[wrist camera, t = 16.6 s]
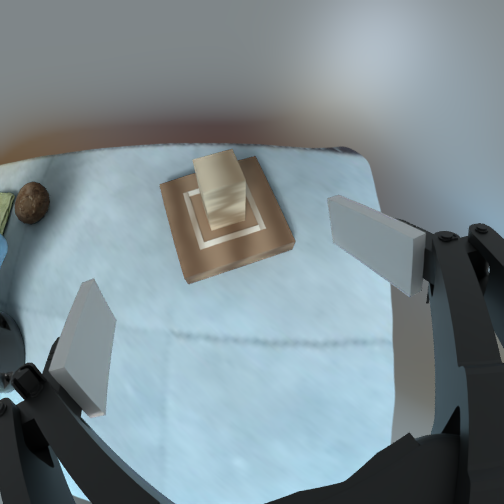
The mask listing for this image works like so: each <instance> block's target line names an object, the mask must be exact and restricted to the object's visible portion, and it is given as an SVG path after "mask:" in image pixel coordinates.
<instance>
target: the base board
mask: <svg viewBox="0 0 504 504" xmlns="http://www.w3.org/2000/svg"><path fill="white" fill-rule="evenodd" d="M238 163H239V165H240V168H241V170H242V172H243V175H244V177H245V179H246V200H245V221H241V222H238V223H235V224H232V225H229V226H225V227H222V228H219V229H216V230H213V231H211V228H210V225H209V222H208V219H207V216H206V212H205V209H204V206H203V203H202V199H201V195H200V191H199V187H198V182H197V178H196V173H194V174H190V175H187V176H184V177H181V178H178V179H175V180H172V181H169V182H166V183H163V184H160V189H161V193H162V197H163V201H164V205H165V209H166V213H167V217H168V221H169V225H170V229H171V233H172V236H173V240H174V244H175V247H176V251H177V254H178V258H179V261H180V265H181V268H182V272H183V275H184V279H185V280H186V281H187V283H188V284H191V283H194V282H197V281H200V280H203V279H206V278H209V277H212V276H215V275H218V274H221V273H224V272H227V271H230V270H233V269H236V268H239V267H242V266H245V265H248V264H251V263H254V262H257V261H259V260H262V259H265V258H268V257H271V256H274V255H277V254H280V253H283V252H286V251H289V250H292V249H293V246H294V244H295V239H294V237H293V235H292V233H291V231H290V228H289V226H288V224H287V222H286V220H285V217H284V215H283V213H282V211H281V209H280V207H279V204H278V202H277V200H276V198H275V196H274V194H273V192H272V189H271V187H270V185H269V183H268V181H267V179H266V177H265V175H264V173H263V171H262V169H261V167H260V164H259V162H258V160H257V158H256V156H254V157H250V158H246V159H242V160H238Z"/></svg>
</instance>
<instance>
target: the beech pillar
mask: <svg viewBox="0 0 504 504" xmlns="http://www.w3.org/2000/svg"><path fill="white" fill-rule="evenodd" d="M193 165H194V169H195V173H196V178H197V182H198V187H199V191H200V195H201V199H202V203H203V206H204V209H205V212H206V216H207V219H208V222H209V225H210V228H211V231H213V230H216V229H219V228H222V227H225V226H229V225H232V224H235V223H238V222H241V221H245V200H246V179H245V177H244V175H243V172H242V170H241V168H240V165H239V163H238V161H237V158H236V156H235V154H234V152H233V149H230V150H226V151H222V152H219V153H215V154H211V155H208V156H204V157H201V158H197V159H194V160H193Z"/></svg>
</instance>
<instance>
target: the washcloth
mask: <svg viewBox="0 0 504 504" xmlns="http://www.w3.org/2000/svg"><path fill="white" fill-rule="evenodd" d="M13 199H14V195H13V194H12V193H0V234H1V235H2V236H3V231H4V228H5V225H6V223H7V219H8V216H9V213H10V209H11V205H12V202H13Z"/></svg>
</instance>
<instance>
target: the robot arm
mask: <svg viewBox="0 0 504 504" xmlns="http://www.w3.org/2000/svg"><path fill="white" fill-rule="evenodd" d="M327 201H328V208H329V215H330V222H331V230H332V238H333V243H334V244H335V245H337V246H338V247H340V248H341V249H343V250H344V251H346V252H347V253H349V254H350V255H352V256H353V257H354V258H356V259H357V260H359V261H360V262H362V263H363V264H364V265H366V266H367V267H369V268H370V269H371V270H373V271H374V272H376V273H377V274H378V275H380V276H381V277H383V278H384V279H385V280H387V281H388V282H390V283H391V284H392V285H394V286H395V287H396V288H398V289H399V290H401V291H402V292H403V293H405V294H406V295H407V296H409V297H411V296H413V295H415V294H416V293H418V292H420V291H422V284H423V278H424V279H425V280H427V281H428V282H429V286H428V294H427V302H426V303H429V300H430V307H431V316H432V326H433V339H434V354H435V387H436V389H435V419H434V424H433V428H432V431H431V435H426V436H422V437H419V438H416V439H414V438H413V436H412V435H411V434H410V433H408V434H406V435H405V436H403V437H402V438H401V439H399V440H397V441H396V442H395V443H393V444H391V445H390V446H388V447H386V448H385V449H383V450H381V451H380V452H378V453H377V454H376V455H374V456H373V457H372V458H371V459H370V460H369V461H368V462H367V463H366V464H365V465H364V466H362V467H361V468H360V469H359V470H358V471H357V472H356V473H354V474H353V475H352V476H351V477H350V478H348V479H347V480H346V481H344V482H341V483H337V484H333V485H329V486H324V487H320V488H315V489H310V490H304V491H299V492H296V493H293V494H291V495H288V496H285V497H283V498H280V499H277V500H274V501H271V502H268V503H265V504H504V363H502V361H501V357H500V353H499V349H498V344H497V341H496V337H495V333H496V335H497V337H498V338H499V340H500V342H501V344H502V346H503V348H504V239H503V238H502V237H501V236H500V235H499V234H498V233H497V232H496V231H494V230H493V229H492V228H491V227H489V226H487V225H485V224H481V223H478V224H473V225H471V226H470V227H469V233H468V236H466V237H462V238H460V237H459V236H458V235H457V234H455V233H452V232H449V231H440V232H437V233H435V234H432V233H430V232H428V231H426V230H423V229H421V228H419V227H416V226H415V225H413V224H410V223H408V222H406V221H404V220H401V219H395V218H392V217H390V216H388V215H385V214H383V213H381V212H379V211H376V210H374V209H372V208H369V207H367V206H365V205H362V204H360V203H357V202H355V201H352V200H350V199H347V198H345V197H342V196H340V195H337V196H333V197H330V198H327ZM7 249H8V245H7V241H6V239H5V238H4V237H3V236H2V235H1V234H0V267H1V264H2V262H3V260H4V258H5V256H6V254H7ZM488 268H490V273H489V272H488ZM0 269H1V268H0ZM115 325H116V319H115V317H114V315H113V313H112V312H111V310H110V308H109V306H108V304H107V302H106V301H105V299H104V297H103V295H102V293H101V291H100V289H99V287H98V285H97V283H96V281H95V279H91V280H88V281H86V282H83V283H82V284H81V286H80V289H79V291H78V293H77V296H76V298H75V300H74V303H73V305H72V307H71V310H70V312H69V315H68V317H67V320H66V322H65V325H64V328H63V330H62V333H61V336H60V337H58V338H57V340H56V341H55V342H54V344H53V345H52V347H51V350H50V353H49V354H50V355H49V356H48V358H47V361H46V364H45V367H44V370H43V373H42V374H41V372H40V371H39V370H38V369H37V367H36V366H35V365H34V364H33V363H26V364H25V352H24V344H23V339H22V336H21V333H20V330H19V328H18V326H17V324H16V323H15V321H14V320H13V319H12V318H11V317H10V316H9V315H8V314H6V313H3V312H0V393H9V392H11V391H13V390H14V389H15V390H16V391H17V392H18V393H19V394H20V395H21V397H22V398H23V399H24V401H22V402H21V403H19V404H17V405H15V404H14V403H13V402H12V401H11V400H10V399H9V398H3V399H1V400H0V492H1V497H2V501H3V504H76V503H75V501H74V499H73V496H72V494H71V492H70V489H69V487H68V485H67V482H66V480H65V477H64V474H63V472H62V469H61V466H60V463H59V461H58V459H59V460H60V462H61V463H62V465H63V466H64V468H65V469H66V470H67V472H68V473H69V475H70V476H71V477H72V479H73V480H74V481H75V483H76V484H77V485H78V487H79V488H80V489H81V490H82V492H83V493H84V494H85V495H86V497H87V498H88V499H89V500H90V501H91V503H92V504H175V503H173V502H172V501H171V500H169V499H168V498H167V497H165V496H164V495H163V494H162V493H160V492H159V491H158V490H156V489H155V488H154V487H153V486H151V485H150V484H149V483H148V482H147V481H145V480H144V479H143V478H142V477H141V476H140V475H138V474H137V473H136V472H135V471H134V470H133V469H132V468H131V467H129V466H128V465H127V464H126V463H125V462H124V461H123V460H122V459H121V458H120V457H119V456H118V455H117V454H116V453H115V452H114V451H113V450H112V449H111V448H110V447H109V446H108V445H107V444H106V443H105V442H104V441H103V440H102V439H101V438H100V437H99V436H98V435H97V434H96V433H95V432H94V431H93V429H92V428H91V427H90V426H89V425H88V424H87V423H86V422H85V421H84V420H83V419H82V418H81V412H82V410H83V411H84V412H85V413H86V414H87V415H88V416H89V417H90V418H92V417H98V416H103V415H106V401H107V389H108V378H109V369H110V360H111V353H112V345H113V338H114V331H115ZM494 331H495V333H494ZM57 457H58V458H57Z"/></svg>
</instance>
